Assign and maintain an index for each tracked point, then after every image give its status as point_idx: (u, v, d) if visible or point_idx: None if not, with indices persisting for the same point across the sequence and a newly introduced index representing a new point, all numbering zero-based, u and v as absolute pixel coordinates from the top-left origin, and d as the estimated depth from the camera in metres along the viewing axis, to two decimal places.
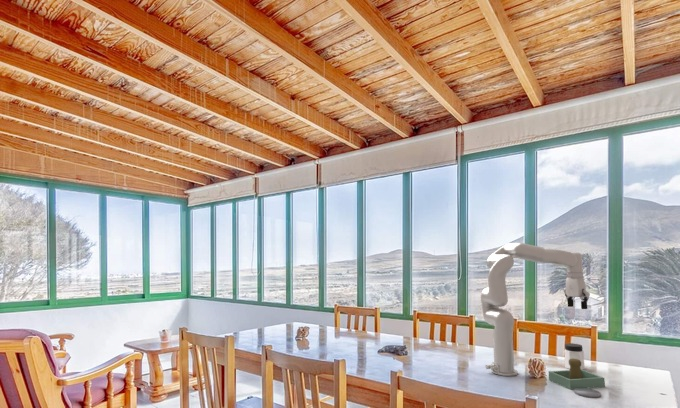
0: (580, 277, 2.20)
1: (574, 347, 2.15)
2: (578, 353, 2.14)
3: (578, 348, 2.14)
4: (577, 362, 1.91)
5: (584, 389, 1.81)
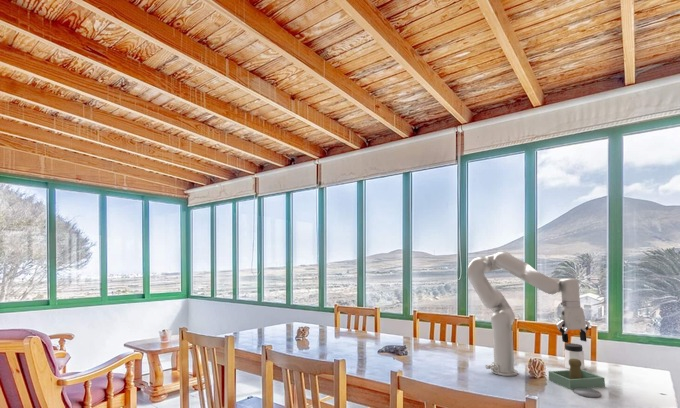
0: None
1: (574, 347, 2.15)
2: (578, 353, 2.14)
3: (578, 348, 2.14)
4: (577, 362, 1.91)
5: (584, 389, 1.81)
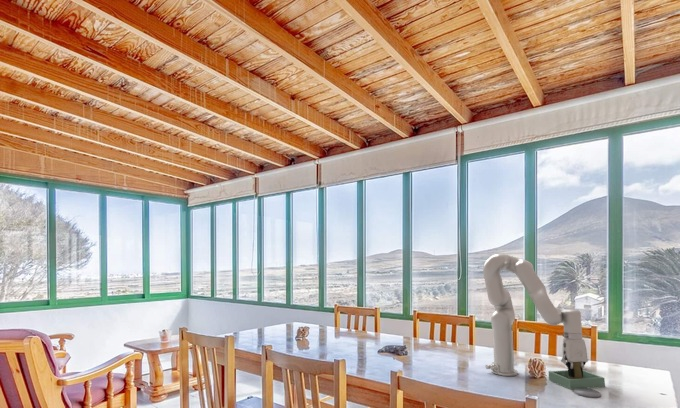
0: None
1: None
2: None
3: None
4: (577, 362, 1.91)
5: (584, 389, 1.81)
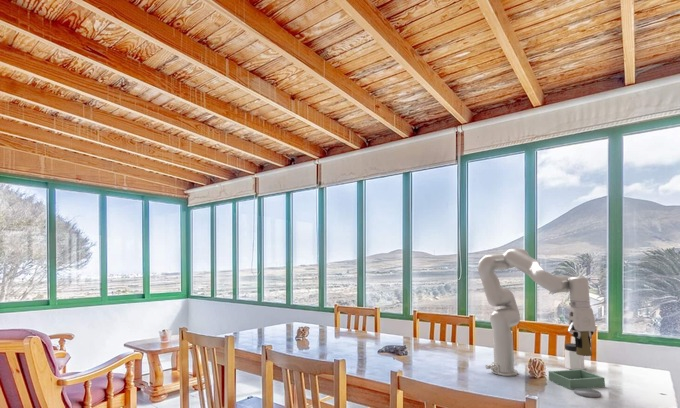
0: None
1: (574, 347, 2.15)
2: None
3: None
4: None
5: (584, 389, 1.81)
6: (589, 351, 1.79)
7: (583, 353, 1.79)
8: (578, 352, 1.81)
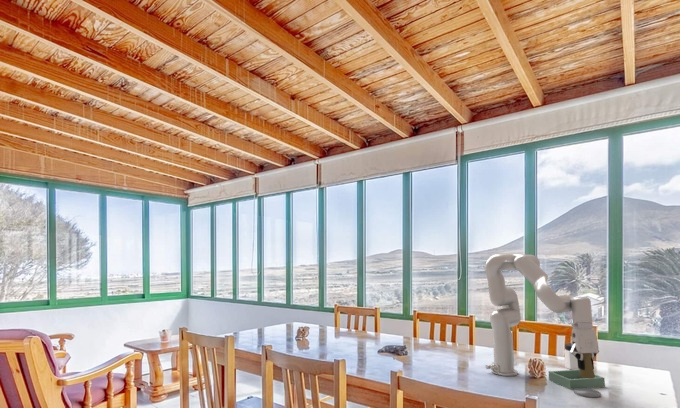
0: None
1: None
2: None
3: None
4: (588, 353, 1.77)
5: (584, 389, 1.81)
6: (592, 373, 1.76)
7: (586, 375, 1.76)
8: (581, 374, 1.78)
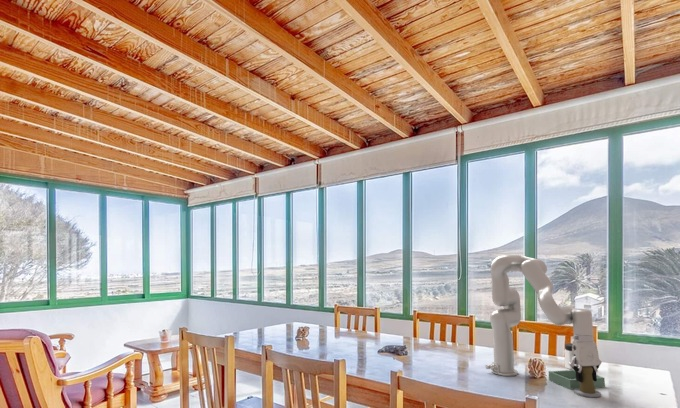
0: None
1: None
2: None
3: None
4: (588, 368, 1.77)
5: None
6: (593, 388, 1.76)
7: (587, 390, 1.76)
8: (581, 389, 1.78)
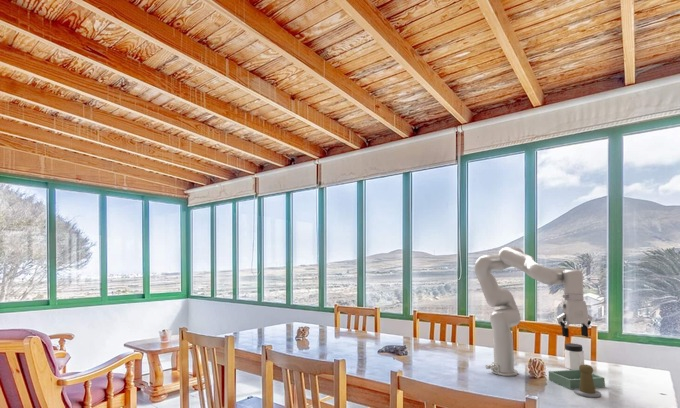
0: None
1: (574, 347, 2.15)
2: (578, 353, 2.14)
3: (578, 348, 2.14)
4: (588, 368, 1.77)
5: None
6: (593, 388, 1.76)
7: (587, 390, 1.76)
8: (581, 389, 1.78)
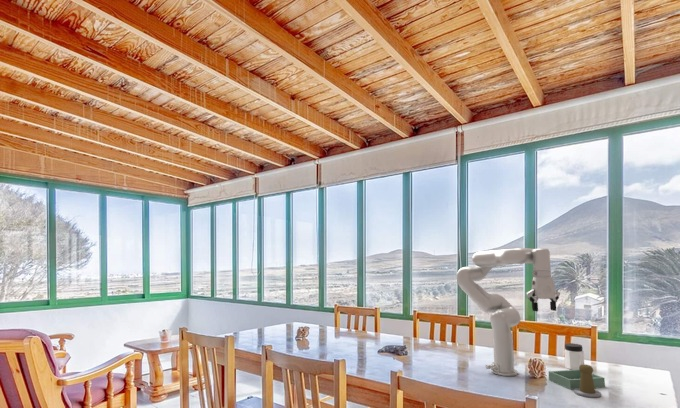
0: None
1: (574, 347, 2.15)
2: (578, 353, 2.14)
3: (578, 348, 2.14)
4: (588, 368, 1.77)
5: None
6: (593, 388, 1.76)
7: (587, 390, 1.76)
8: (581, 389, 1.78)
